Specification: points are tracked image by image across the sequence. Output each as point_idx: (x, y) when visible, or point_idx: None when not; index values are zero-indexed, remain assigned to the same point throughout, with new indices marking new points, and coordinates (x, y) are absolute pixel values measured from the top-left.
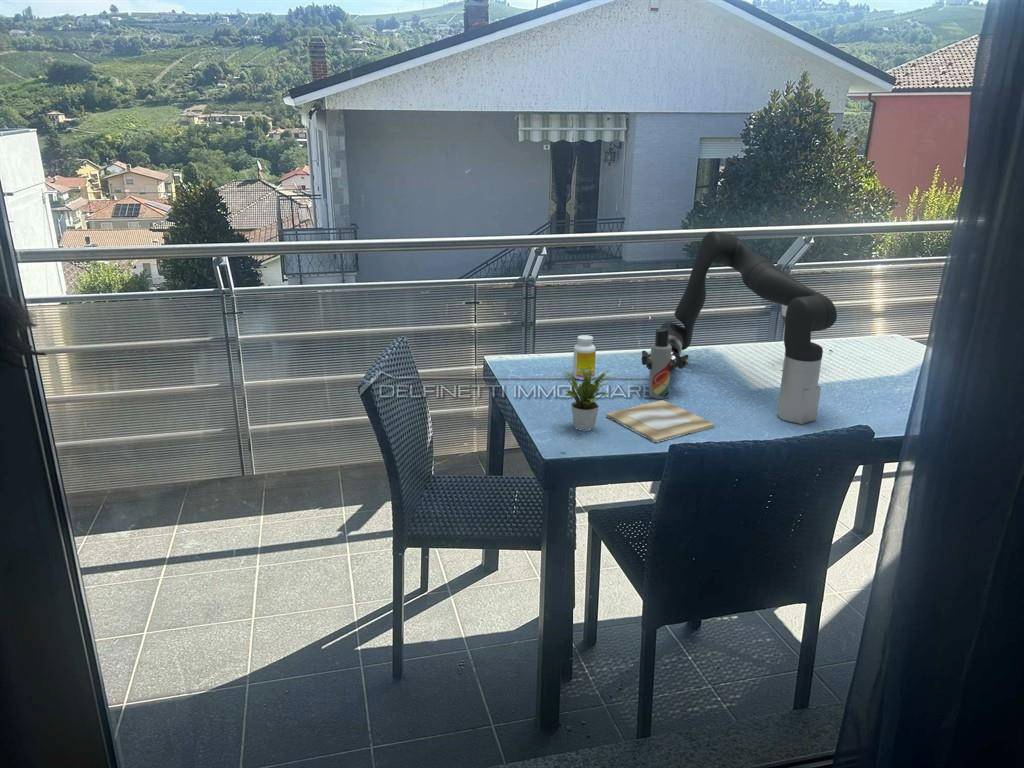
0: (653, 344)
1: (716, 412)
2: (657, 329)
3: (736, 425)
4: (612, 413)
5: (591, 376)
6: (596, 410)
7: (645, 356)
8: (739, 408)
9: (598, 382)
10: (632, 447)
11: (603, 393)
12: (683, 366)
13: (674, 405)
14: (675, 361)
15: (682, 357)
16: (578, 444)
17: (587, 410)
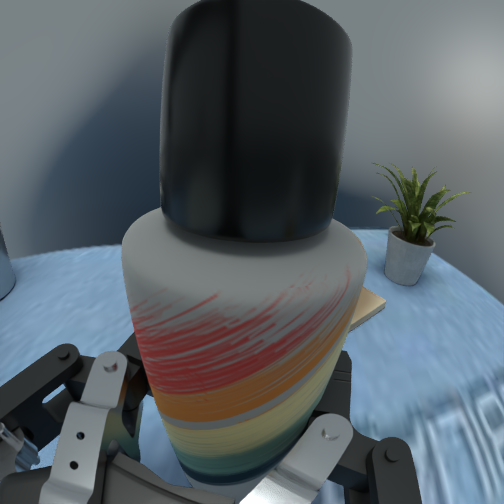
0: (348, 243)
1: (93, 326)
2: (333, 23)
3: (100, 277)
4: (374, 302)
5: None
6: (388, 233)
7: (383, 450)
8: (28, 335)
9: (408, 195)
10: None
11: (390, 208)
12: (62, 393)
13: None
14: (113, 355)
15: (20, 398)
16: (382, 244)
17: (398, 226)
